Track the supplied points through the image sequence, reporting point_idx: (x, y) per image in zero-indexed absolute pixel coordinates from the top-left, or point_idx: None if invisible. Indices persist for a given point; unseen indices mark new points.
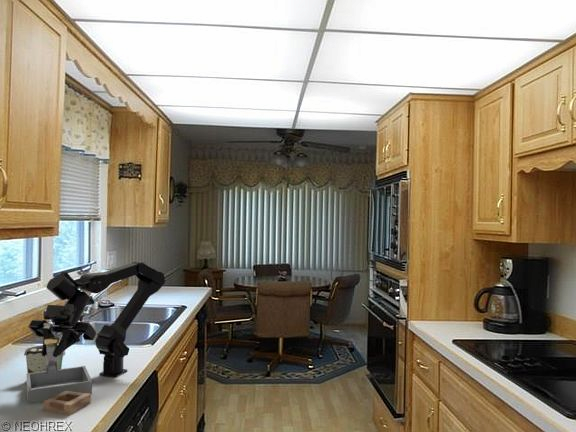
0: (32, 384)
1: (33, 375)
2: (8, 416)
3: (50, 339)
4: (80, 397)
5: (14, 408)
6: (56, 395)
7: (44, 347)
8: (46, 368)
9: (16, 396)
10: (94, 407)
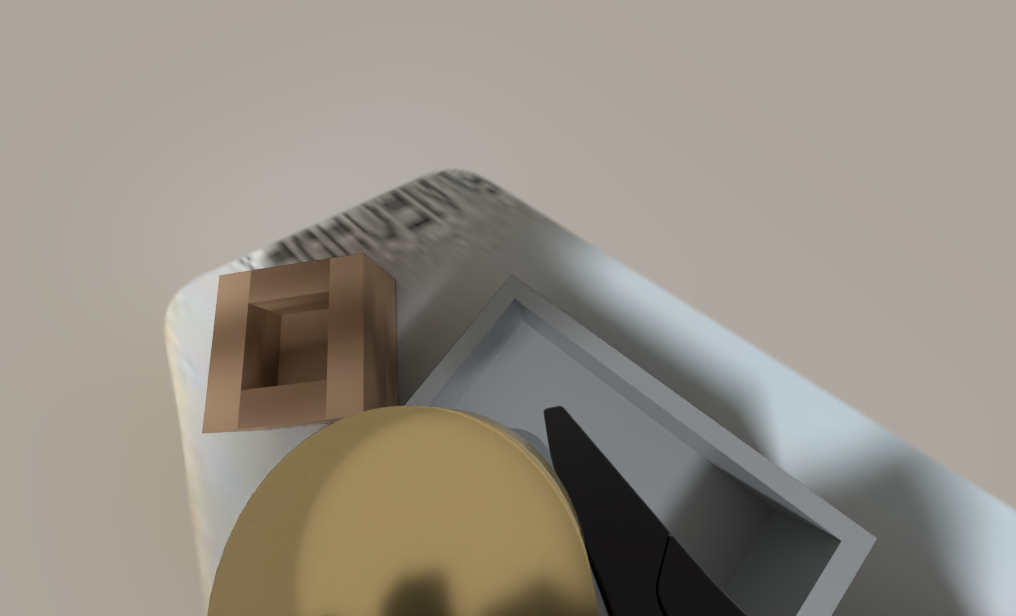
0: (779, 532)
1: (815, 558)
2: (534, 225)
3: (363, 509)
4: (225, 367)
5: (591, 290)
6: (360, 337)
7: (571, 472)
8: (523, 433)
9: (743, 406)
10: (257, 452)
